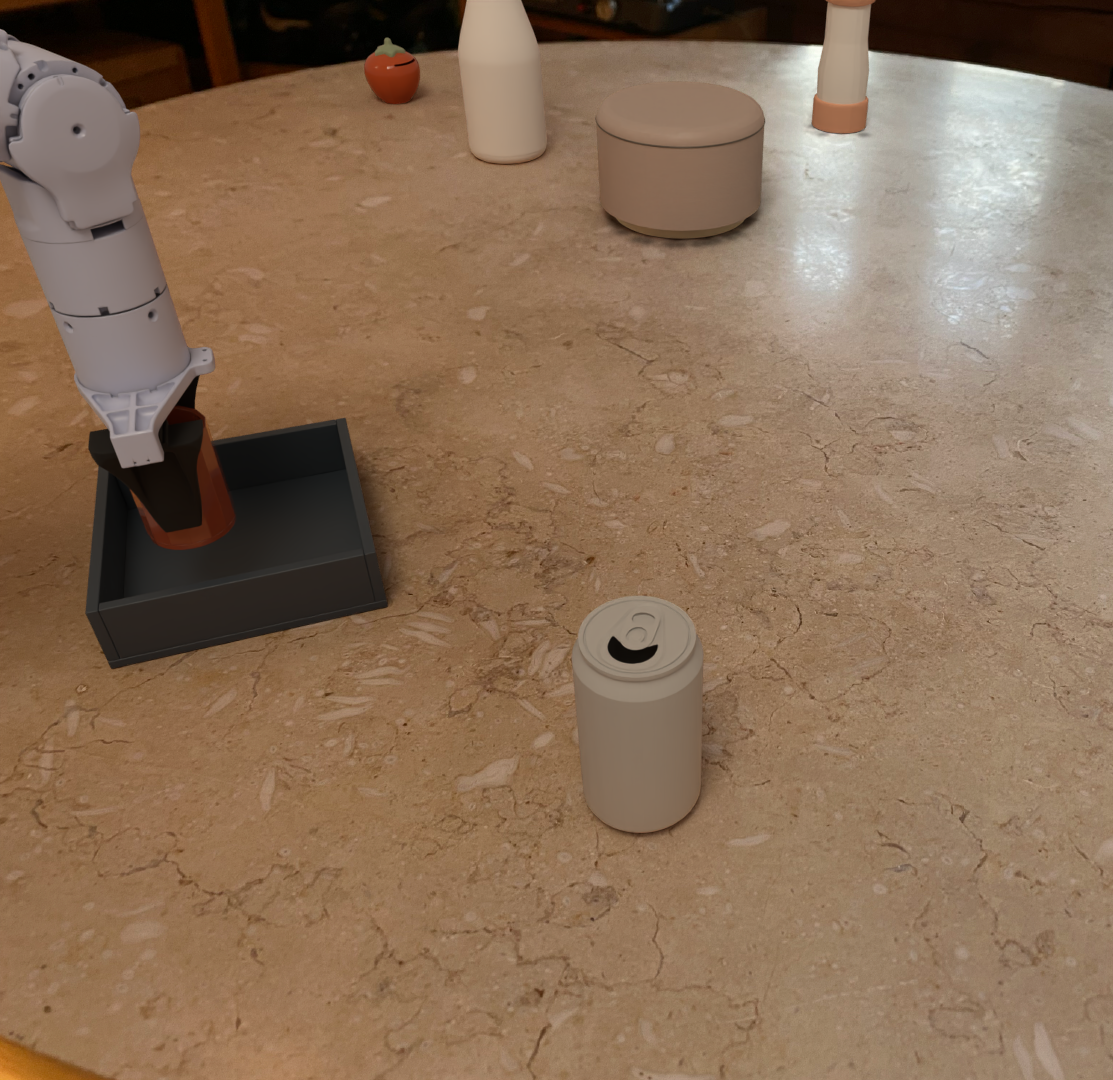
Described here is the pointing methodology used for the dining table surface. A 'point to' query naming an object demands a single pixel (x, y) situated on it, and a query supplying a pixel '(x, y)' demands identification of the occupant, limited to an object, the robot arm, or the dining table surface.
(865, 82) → the pepper shaker
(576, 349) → the dining table surface
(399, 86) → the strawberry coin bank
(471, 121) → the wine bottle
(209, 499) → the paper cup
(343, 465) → the bin
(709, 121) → the container
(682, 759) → the beverage can
